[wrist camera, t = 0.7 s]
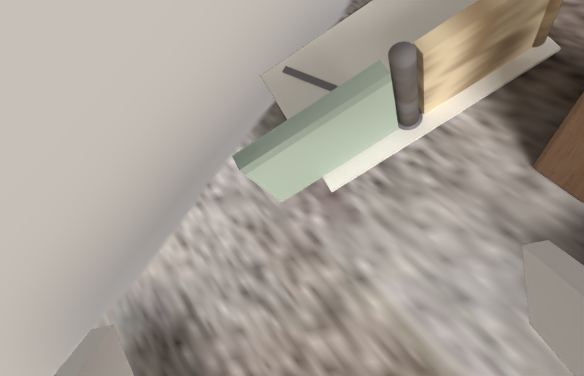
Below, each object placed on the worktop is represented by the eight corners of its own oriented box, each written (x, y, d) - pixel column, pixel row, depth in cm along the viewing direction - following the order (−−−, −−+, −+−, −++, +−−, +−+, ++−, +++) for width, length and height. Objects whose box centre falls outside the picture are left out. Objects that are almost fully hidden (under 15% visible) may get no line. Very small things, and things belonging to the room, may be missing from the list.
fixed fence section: (535, 28, 36) (572, -73, 27) (550, 41, 35) (593, -56, 26) (393, 117, 37) (382, 51, 28) (405, 132, 36) (397, 70, 27)
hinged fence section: (390, 118, 36) (379, 59, 28) (398, 129, 36) (390, 72, 28) (274, 191, 38) (232, 156, 29) (281, 203, 37) (239, 170, 29)
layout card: (452, -51, 40) (453, -55, 40) (559, 50, 35) (561, 47, 34) (261, 77, 43) (259, 75, 42) (331, 192, 37) (330, 190, 36)
